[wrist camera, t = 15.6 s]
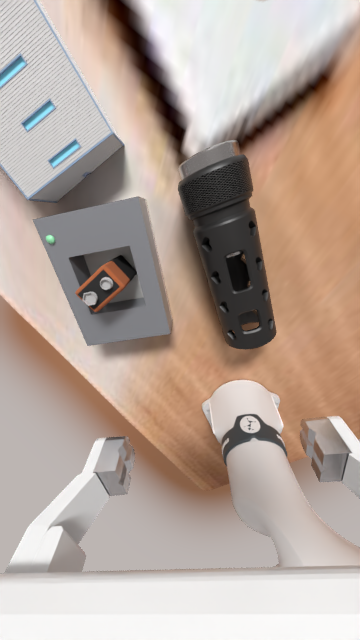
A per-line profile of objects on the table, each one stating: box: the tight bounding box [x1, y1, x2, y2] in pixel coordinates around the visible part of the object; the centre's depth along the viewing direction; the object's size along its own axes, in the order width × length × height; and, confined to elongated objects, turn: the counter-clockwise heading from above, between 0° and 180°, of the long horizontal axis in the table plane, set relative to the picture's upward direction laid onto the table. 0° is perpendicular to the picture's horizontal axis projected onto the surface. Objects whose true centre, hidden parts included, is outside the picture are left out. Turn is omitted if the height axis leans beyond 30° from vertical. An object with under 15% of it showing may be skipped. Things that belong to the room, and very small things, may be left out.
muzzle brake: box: [178, 140, 276, 349], centre depth 34 cm, size 10×28×10 cm, turn 19°
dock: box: [33, 197, 173, 346], centre depth 38 cm, size 22×16×6 cm
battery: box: [75, 255, 137, 312], centre depth 35 cm, size 4×7×10 cm, turn 130°
